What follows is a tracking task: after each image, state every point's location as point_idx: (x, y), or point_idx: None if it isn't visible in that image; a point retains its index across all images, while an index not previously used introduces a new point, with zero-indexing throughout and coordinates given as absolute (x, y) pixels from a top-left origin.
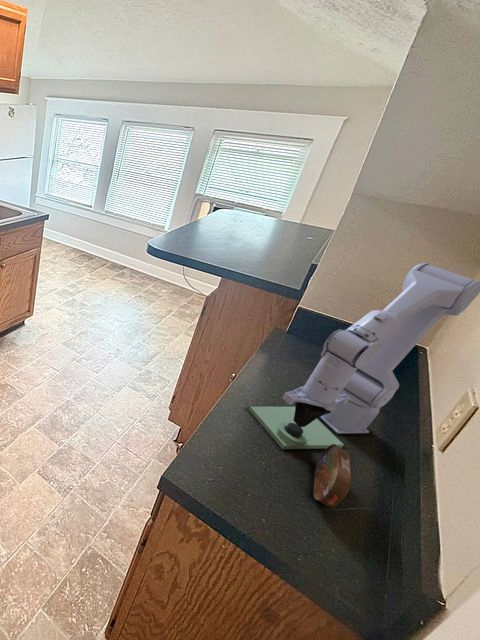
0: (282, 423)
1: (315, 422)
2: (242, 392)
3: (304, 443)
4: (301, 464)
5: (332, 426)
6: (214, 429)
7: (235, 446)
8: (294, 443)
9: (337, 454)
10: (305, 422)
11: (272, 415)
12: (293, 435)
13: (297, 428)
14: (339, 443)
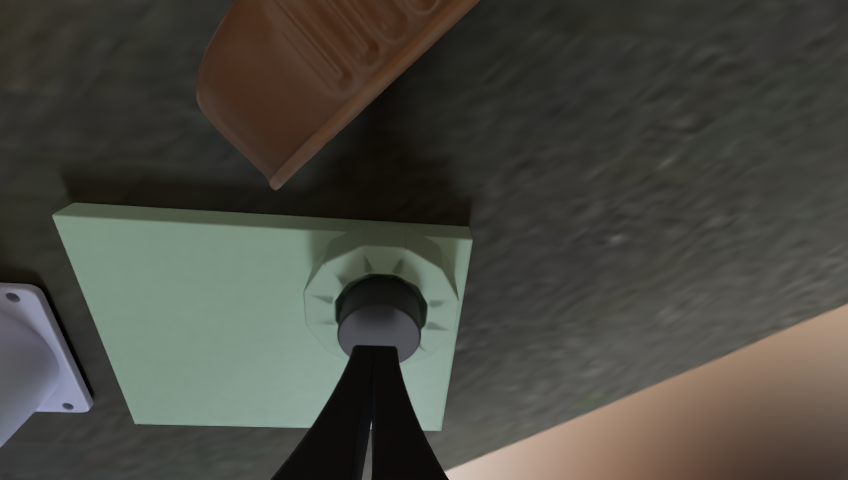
0: None
1: (141, 349)
2: None
3: (368, 239)
4: (441, 129)
5: (40, 322)
6: (709, 341)
7: (708, 260)
8: (423, 246)
9: (459, 13)
10: (394, 388)
11: None
12: (409, 291)
13: (372, 332)
14: (79, 225)
